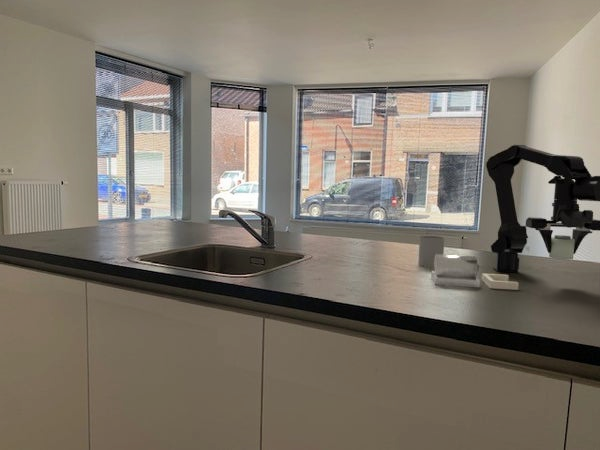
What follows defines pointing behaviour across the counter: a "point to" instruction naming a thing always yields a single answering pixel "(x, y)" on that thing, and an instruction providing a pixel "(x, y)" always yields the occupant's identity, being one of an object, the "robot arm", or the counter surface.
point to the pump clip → (499, 281)
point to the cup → (430, 249)
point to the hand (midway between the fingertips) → (561, 253)
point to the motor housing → (455, 271)
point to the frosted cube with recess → (562, 247)
